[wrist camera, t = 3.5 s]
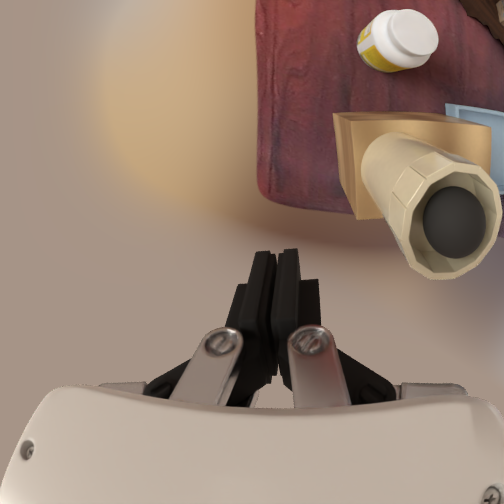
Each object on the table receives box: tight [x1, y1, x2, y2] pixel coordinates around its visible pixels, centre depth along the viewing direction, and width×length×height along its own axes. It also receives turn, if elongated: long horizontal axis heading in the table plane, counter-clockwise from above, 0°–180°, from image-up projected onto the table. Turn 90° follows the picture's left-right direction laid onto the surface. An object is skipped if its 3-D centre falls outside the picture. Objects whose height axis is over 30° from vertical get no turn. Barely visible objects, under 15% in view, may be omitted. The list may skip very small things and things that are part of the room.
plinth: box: [333, 111, 492, 220], centre depth 26 cm, size 15×9×12 cm, turn 100°
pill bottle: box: [357, 9, 438, 73], centre depth 20 cm, size 6×6×12 cm
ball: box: [423, 186, 486, 259], centre depth 12 cm, size 4×4×4 cm
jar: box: [361, 132, 502, 280], centre depth 17 cm, size 7×7×11 cm
